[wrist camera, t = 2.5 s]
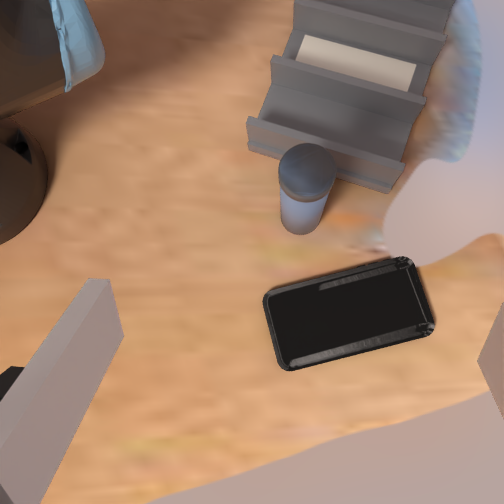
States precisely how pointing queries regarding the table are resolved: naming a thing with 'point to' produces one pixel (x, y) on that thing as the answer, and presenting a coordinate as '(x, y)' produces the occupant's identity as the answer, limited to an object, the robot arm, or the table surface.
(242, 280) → the table surface
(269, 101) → the rack
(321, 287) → the phone
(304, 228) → the grey cylinder
